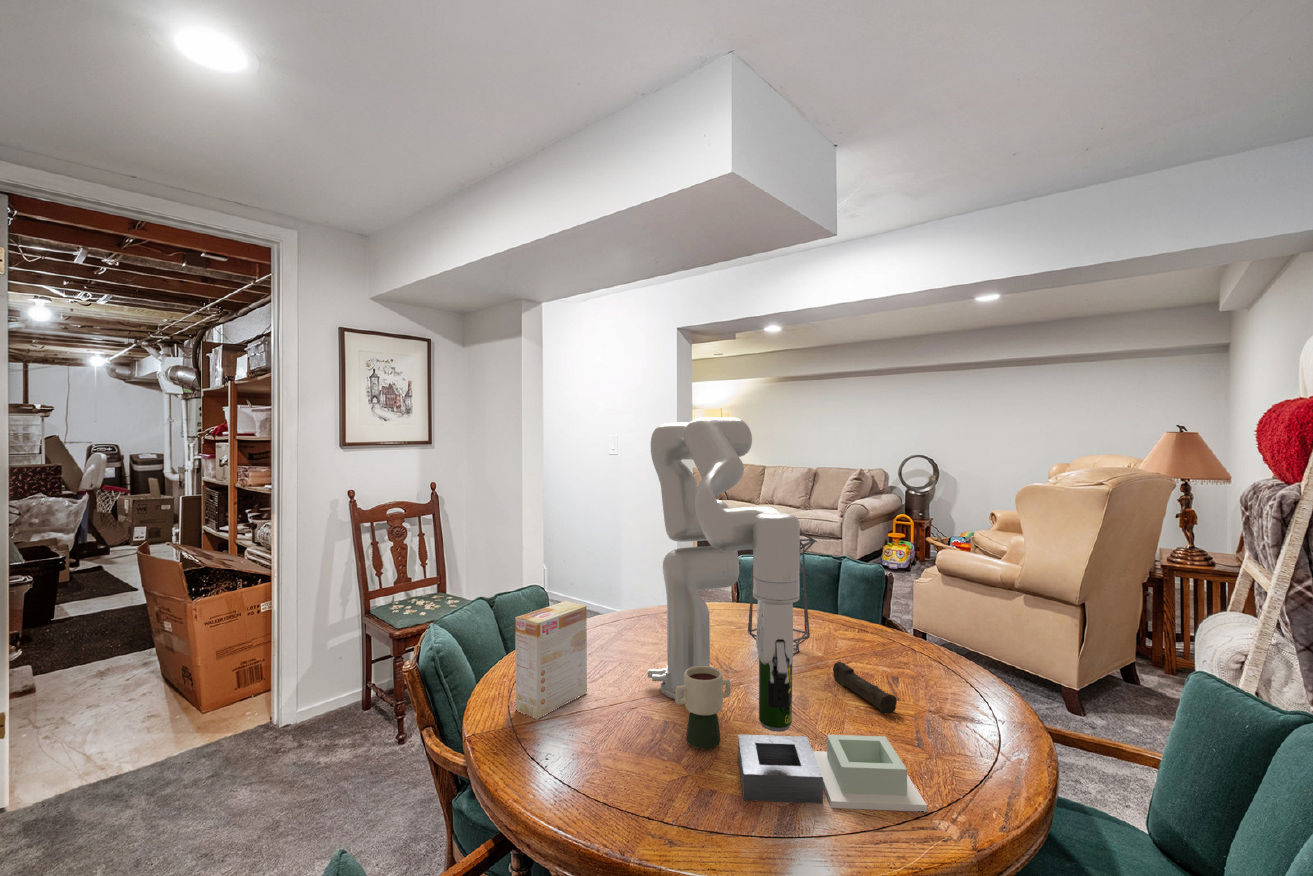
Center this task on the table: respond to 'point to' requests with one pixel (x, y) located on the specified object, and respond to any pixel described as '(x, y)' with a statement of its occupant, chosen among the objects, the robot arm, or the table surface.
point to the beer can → (767, 716)
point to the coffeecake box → (550, 657)
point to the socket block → (779, 769)
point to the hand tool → (864, 688)
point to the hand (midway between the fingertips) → (775, 696)
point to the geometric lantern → (811, 542)
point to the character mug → (703, 704)
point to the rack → (866, 775)
